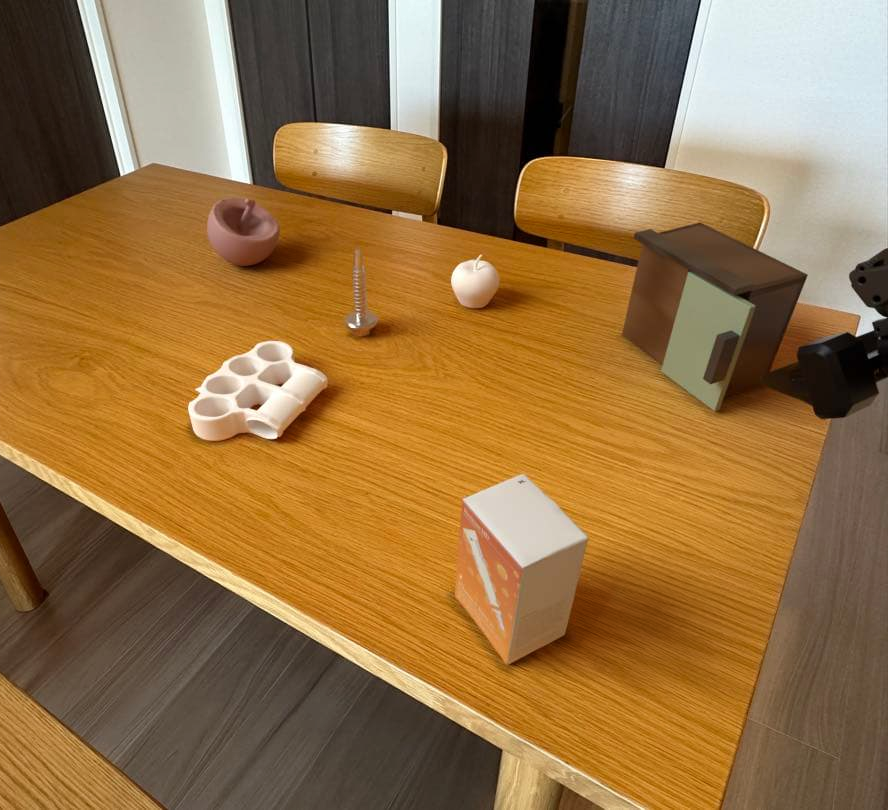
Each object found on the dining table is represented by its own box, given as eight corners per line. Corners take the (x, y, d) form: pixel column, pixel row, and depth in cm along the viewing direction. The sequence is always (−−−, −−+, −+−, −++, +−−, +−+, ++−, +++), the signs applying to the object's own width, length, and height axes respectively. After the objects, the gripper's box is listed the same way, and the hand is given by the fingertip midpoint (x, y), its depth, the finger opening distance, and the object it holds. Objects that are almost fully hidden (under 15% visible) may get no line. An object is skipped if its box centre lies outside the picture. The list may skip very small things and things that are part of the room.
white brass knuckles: (264, 462, 79) (166, 426, 85) (341, 378, 91) (251, 352, 97) (260, 439, 77) (160, 405, 83) (340, 357, 89) (247, 332, 95)
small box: (453, 597, 64) (459, 497, 55) (509, 570, 66) (524, 470, 57) (506, 668, 58) (522, 568, 50) (567, 636, 60) (592, 535, 52)
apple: (479, 319, 101) (483, 269, 96) (440, 304, 105) (442, 255, 100) (506, 300, 105) (511, 252, 100) (468, 286, 109) (471, 239, 104)
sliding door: (719, 409, 82) (756, 305, 73) (700, 416, 81) (735, 311, 72) (665, 369, 88) (693, 270, 80) (647, 375, 87) (673, 275, 79)
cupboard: (765, 383, 86) (810, 267, 76) (697, 406, 83) (736, 289, 73) (672, 323, 98) (701, 216, 88) (611, 340, 95) (634, 232, 85)
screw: (359, 319, 103) (385, 329, 100) (338, 334, 100) (364, 344, 97) (354, 238, 95) (383, 246, 92) (332, 251, 92) (360, 260, 89)
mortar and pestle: (266, 281, 114) (257, 215, 107) (201, 274, 117) (188, 209, 110) (293, 249, 123) (286, 186, 116) (232, 244, 126) (221, 182, 119)
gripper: (1029, 208, 55) (832, 264, 69) (885, 259, 48) (700, 310, 63) (1070, 342, 55) (865, 370, 69) (933, 412, 48) (737, 427, 63)
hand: (795, 367), depth 66 cm, fingers open, 9 cm apart
